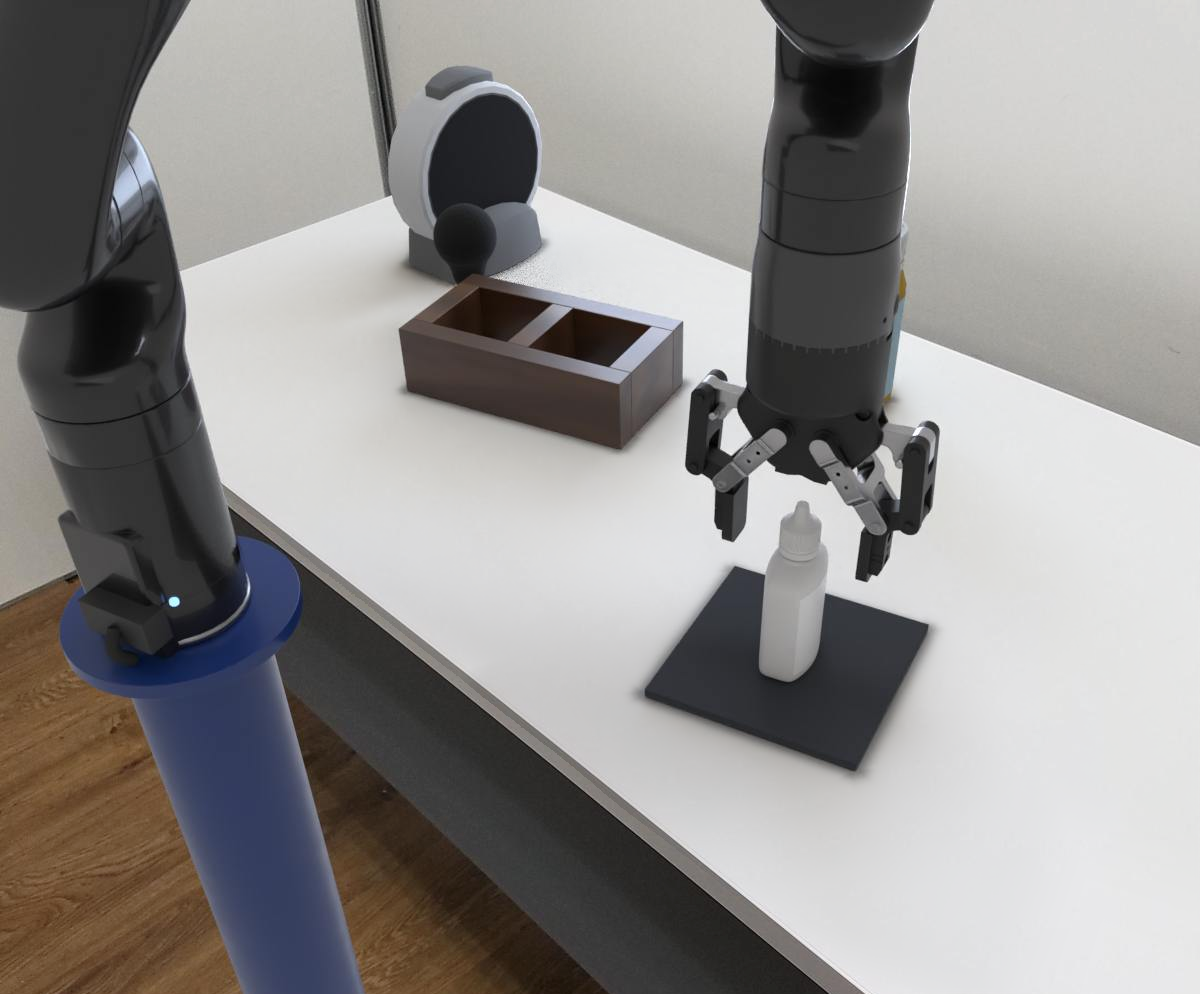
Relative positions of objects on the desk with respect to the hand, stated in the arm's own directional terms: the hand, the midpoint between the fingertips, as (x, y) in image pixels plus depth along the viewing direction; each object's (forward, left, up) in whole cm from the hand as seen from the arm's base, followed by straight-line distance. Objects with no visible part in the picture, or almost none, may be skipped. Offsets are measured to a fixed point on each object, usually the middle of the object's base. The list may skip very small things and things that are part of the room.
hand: (798, 553), depth 76 cm
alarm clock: (+43, +52, -9) cm, 68 cm away
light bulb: (+33, +46, -9) cm, 57 cm away
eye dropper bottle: (0, 0, -9) cm, 9 cm away
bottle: (+33, +8, -9) cm, 35 cm away
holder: (+23, +32, -9) cm, 40 cm away
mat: (0, 0, -9) cm, 9 cm away
